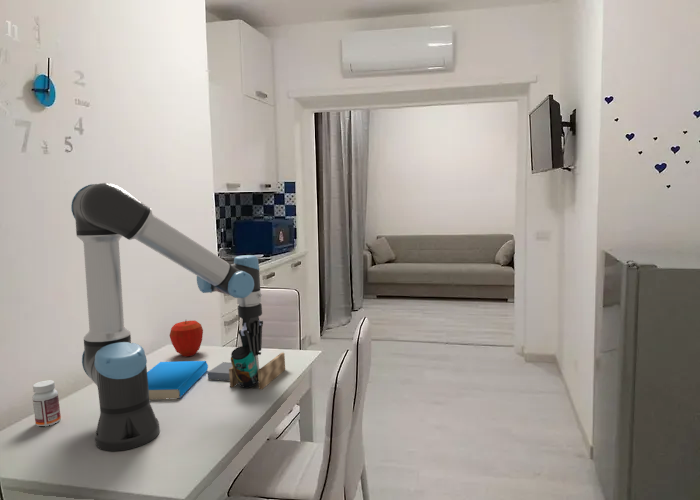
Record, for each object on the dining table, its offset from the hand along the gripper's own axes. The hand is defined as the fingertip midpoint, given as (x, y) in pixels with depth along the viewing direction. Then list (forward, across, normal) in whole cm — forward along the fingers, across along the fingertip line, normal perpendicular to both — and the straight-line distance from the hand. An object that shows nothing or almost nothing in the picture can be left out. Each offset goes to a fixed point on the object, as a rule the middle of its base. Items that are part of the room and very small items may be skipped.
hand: (254, 375), depth 172 cm
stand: (+2, +4, +11) cm, 12 cm away
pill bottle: (+2, -39, +44) cm, 59 cm away
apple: (+2, +21, +38) cm, 44 cm away
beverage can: (+1, -4, 0) cm, 4 cm away
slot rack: (+2, +2, 0) cm, 3 cm away
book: (+3, -7, +27) cm, 28 cm away
